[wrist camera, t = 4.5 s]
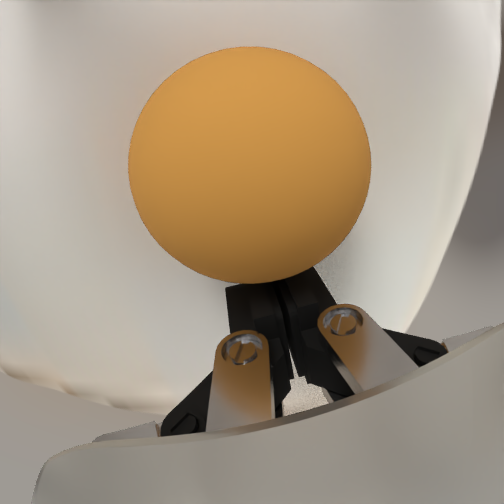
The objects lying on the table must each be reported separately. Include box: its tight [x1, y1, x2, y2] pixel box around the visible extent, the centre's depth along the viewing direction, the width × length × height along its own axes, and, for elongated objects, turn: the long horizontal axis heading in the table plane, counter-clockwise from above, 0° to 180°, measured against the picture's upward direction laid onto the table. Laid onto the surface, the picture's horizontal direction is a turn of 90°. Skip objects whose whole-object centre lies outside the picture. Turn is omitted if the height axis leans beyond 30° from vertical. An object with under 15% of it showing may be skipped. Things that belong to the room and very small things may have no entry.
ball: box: [128, 47, 371, 284], centre depth 7 cm, size 6×6×6 cm
